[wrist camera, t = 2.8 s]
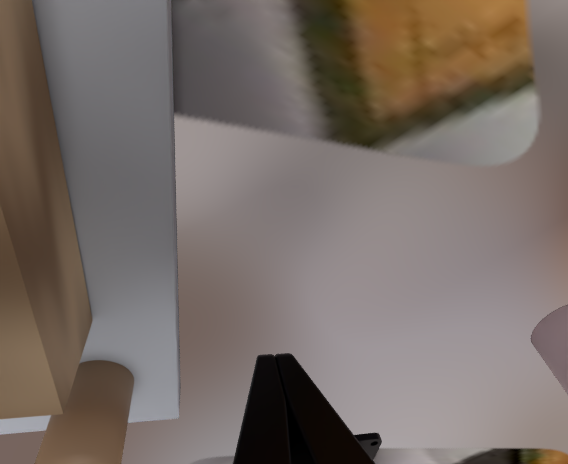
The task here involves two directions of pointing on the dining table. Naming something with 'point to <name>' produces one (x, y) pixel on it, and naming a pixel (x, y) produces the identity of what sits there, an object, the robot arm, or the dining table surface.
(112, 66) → the grey peg board
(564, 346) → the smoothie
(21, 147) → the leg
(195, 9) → the dining table surface
